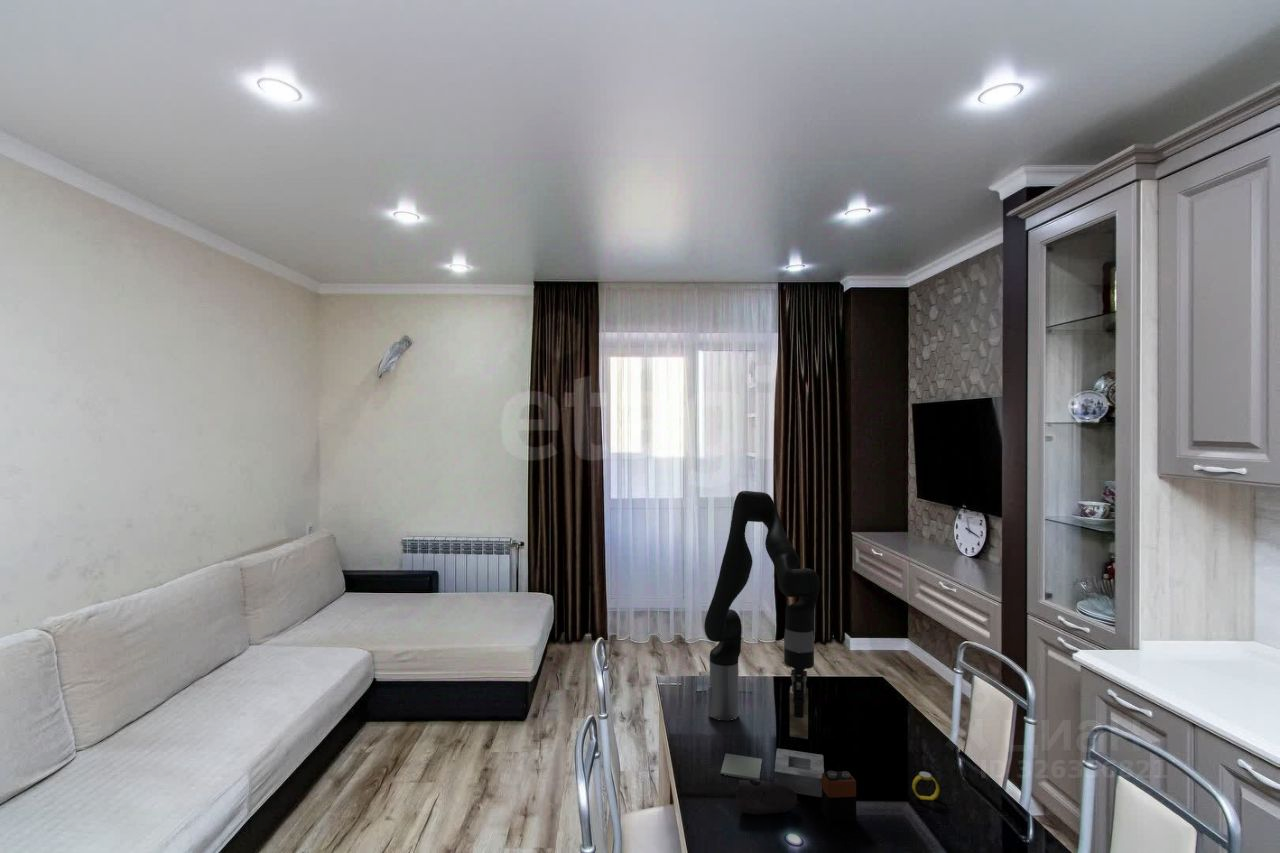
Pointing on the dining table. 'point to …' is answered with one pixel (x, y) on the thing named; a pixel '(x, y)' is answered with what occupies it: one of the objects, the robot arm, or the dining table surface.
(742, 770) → the sage mat
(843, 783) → the battery
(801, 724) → the birch peg
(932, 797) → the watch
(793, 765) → the post block
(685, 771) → the dining table surface
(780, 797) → the perforated stone tool
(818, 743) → the dining table surface
